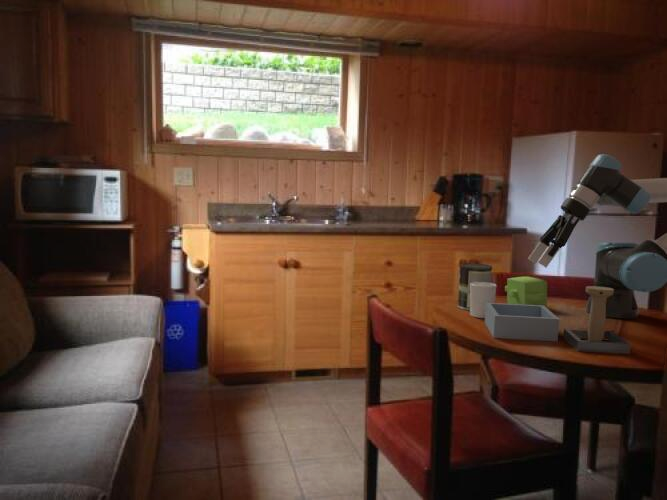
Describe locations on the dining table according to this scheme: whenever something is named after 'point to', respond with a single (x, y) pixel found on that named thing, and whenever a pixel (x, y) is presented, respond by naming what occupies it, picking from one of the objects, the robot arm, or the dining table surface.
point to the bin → (521, 322)
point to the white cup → (481, 297)
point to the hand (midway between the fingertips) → (536, 263)
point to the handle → (597, 311)
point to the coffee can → (468, 275)
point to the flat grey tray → (596, 342)
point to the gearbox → (526, 291)
